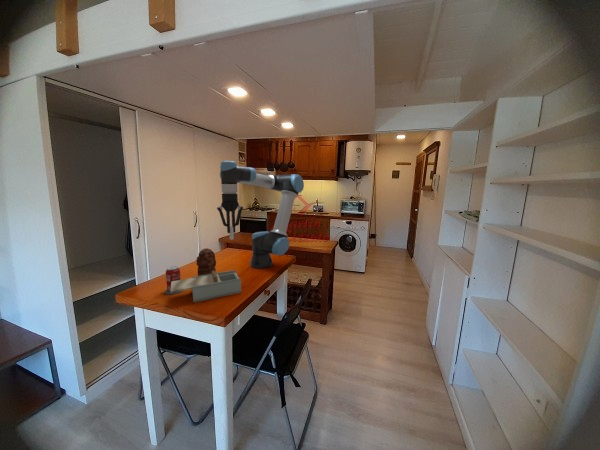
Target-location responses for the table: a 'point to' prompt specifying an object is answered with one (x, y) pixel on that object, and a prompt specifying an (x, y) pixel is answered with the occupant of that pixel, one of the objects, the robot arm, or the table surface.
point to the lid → (194, 282)
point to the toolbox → (218, 287)
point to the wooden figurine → (206, 262)
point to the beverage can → (172, 275)
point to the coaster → (171, 293)
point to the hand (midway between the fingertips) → (231, 239)
